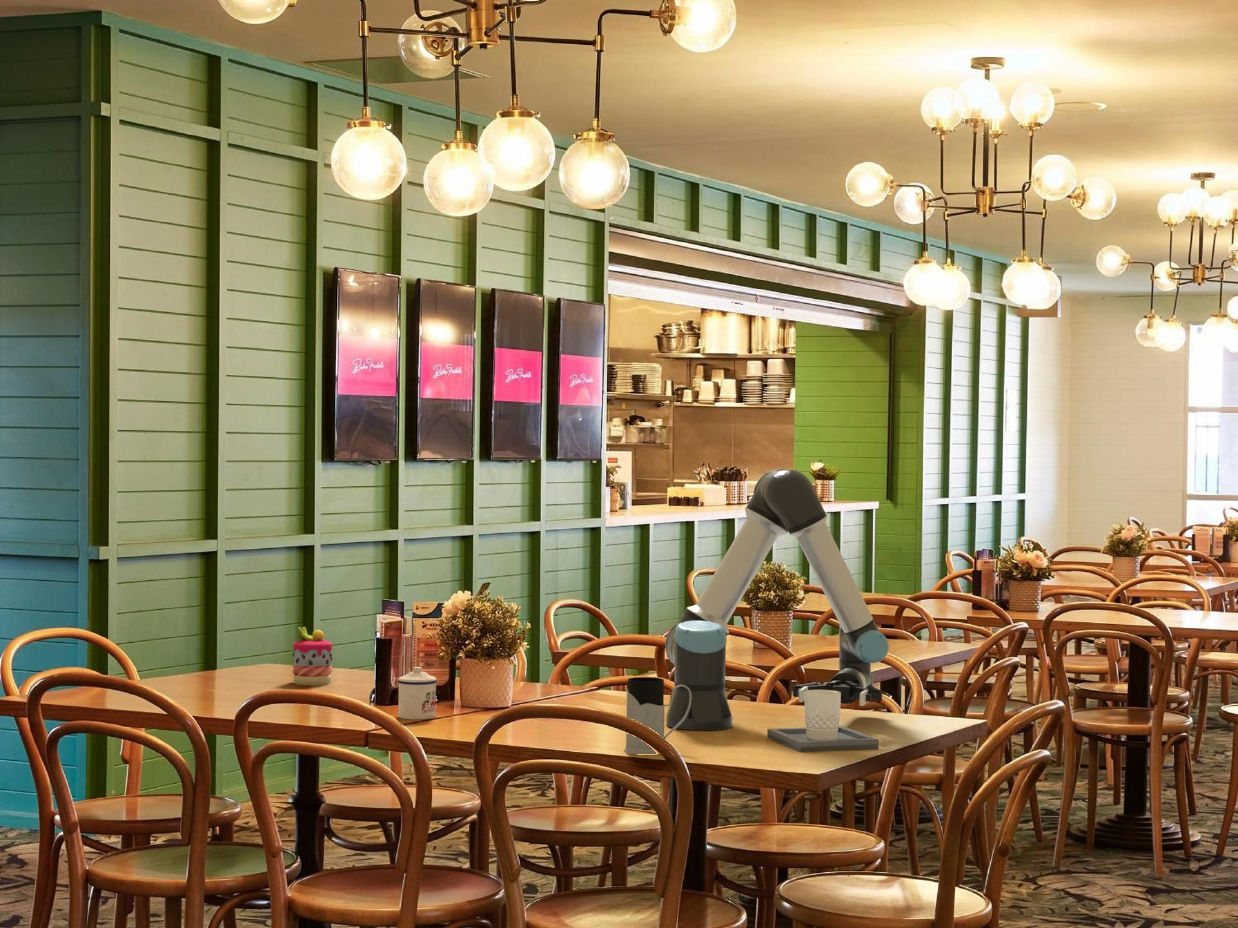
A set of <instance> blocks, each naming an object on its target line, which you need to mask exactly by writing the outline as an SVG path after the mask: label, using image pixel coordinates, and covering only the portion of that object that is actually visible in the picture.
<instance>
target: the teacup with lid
mask: <svg viewBox="0 0 1238 928" xmlns="http://www.w3.org/2000/svg"><path fill="white" fill-rule="evenodd" d="M397 683H398V709H397V710H398V714H397V717H399V719H403V720H411V721H415V720H416V721H417V720H419V721H420V720H424V721H425V720H431V719H434V718H435V717H436V705H437V703H436V702H437V700H436V699H437V693H436V692H437V683H438V681H437V678H436V676H434V675H430V674H428V673H427V672H425V671H423V668H422V667H420V666H414V667H413V669H412V671H410V672H408V673H406V674H405V675H403V676H400V677H399V678H398V680H397Z"/></svg>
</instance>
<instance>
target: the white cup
mask: <svg viewBox="0 0 1238 928" xmlns="http://www.w3.org/2000/svg"><path fill="white" fill-rule="evenodd" d="M803 702H804V721H805V722H804V723H805V727H806V738H808V739H811V740H837V738H838V727H839V726H840V715H841V703H840V702H841V692H838V691H832V690H807V691H804V701H803Z"/></svg>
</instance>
